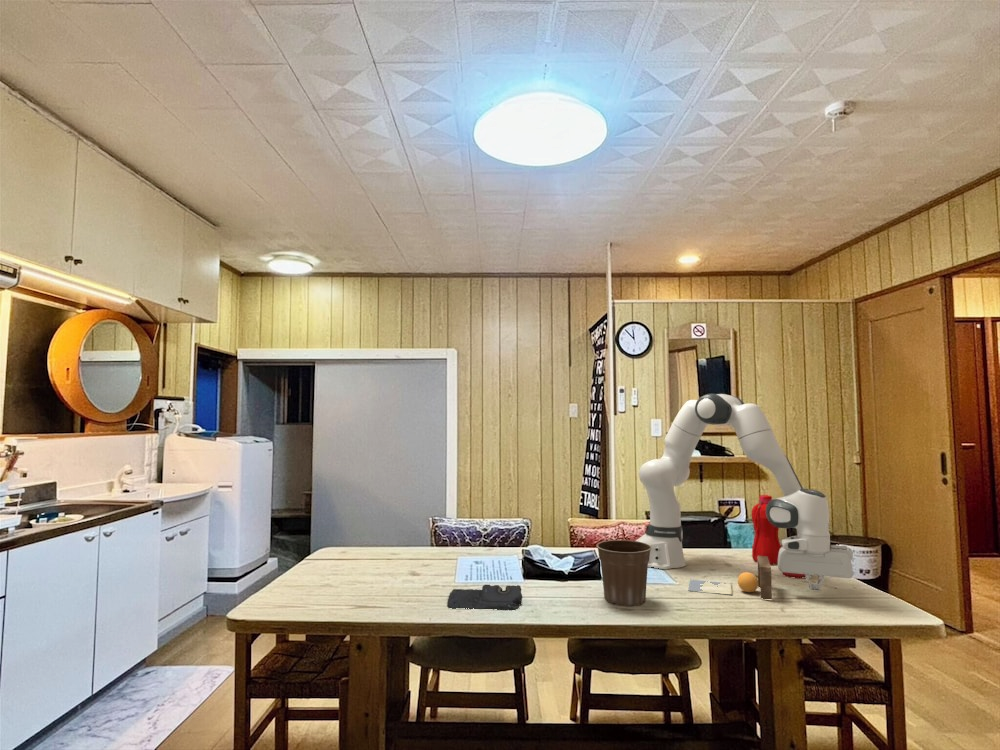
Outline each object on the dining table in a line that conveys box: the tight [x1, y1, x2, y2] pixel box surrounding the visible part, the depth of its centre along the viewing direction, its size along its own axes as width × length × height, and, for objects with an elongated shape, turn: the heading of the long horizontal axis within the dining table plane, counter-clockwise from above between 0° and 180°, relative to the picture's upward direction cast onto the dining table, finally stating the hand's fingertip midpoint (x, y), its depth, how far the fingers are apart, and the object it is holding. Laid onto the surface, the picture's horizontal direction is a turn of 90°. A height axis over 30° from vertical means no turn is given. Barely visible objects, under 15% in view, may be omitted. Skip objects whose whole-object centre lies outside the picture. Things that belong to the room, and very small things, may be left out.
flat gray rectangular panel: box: [687, 579, 732, 592], centre depth 188 cm, size 13×13×1 cm
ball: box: [737, 571, 758, 593], centre depth 184 cm, size 6×6×6 cm
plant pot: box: [596, 539, 652, 607], centre depth 176 cm, size 16×16×16 cm
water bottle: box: [751, 494, 781, 566], centre depth 222 cm, size 9×11×25 cm
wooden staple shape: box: [757, 556, 773, 600], centre depth 183 cm, size 3×15×10 cm, turn 159°
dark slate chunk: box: [446, 584, 523, 611], centre depth 173 cm, size 15×22×5 cm
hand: (814, 589), depth 178 cm, fingers closed
